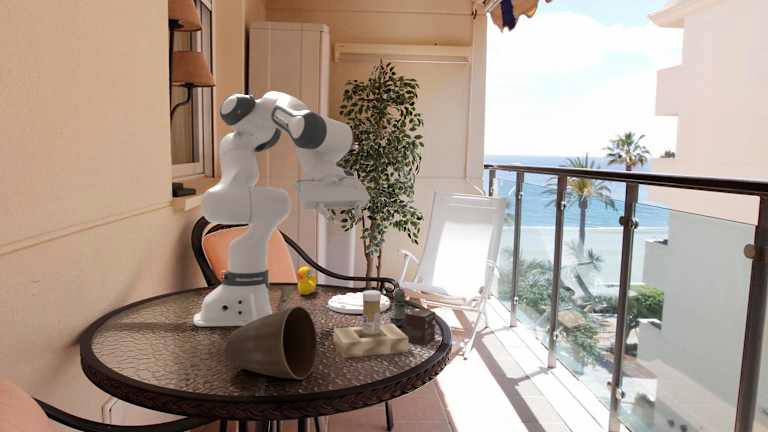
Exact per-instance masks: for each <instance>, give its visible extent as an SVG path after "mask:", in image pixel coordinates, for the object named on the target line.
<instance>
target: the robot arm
mask: <svg viewBox="0 0 768 432" xmlns="http://www.w3.org/2000/svg"><path fill="white" fill-rule="evenodd" d="M219 116H220V118H221V120H222V121H223V122H224V123H225V124H226V125H227V126H229V127H230V128H231V129H232V130H233V132H231V133H228V134H227V135H225V136H223V138H222V139H221V140H220V144H219V155H218V157H219V165H220V170H221V171H220V172H221V178H220V180H219V182H218V183H217V184H216V185H214V186H212V187H211V188H209V189H206V191H205V192H204V194H203V196H202V197H201V200H200V210H201V213H202V215H203V217H204V218H205V220H206V221H208V222H209V223H214V224H221V225H246V224H247V225H249V226H248V229H247V231H245V232H244V233H243V234H242V235H239V236H238V237H236V238H234V239H233V240H232V241H231V242H230V244H229V245H228V249H227V250H228V253H227V254H228V270H224V269H223V270H221V271H220V273H219V277H220V279H221V284H220V285H219V286H217V287H216V288H215V289H214V290H212V291H211V292H210V293H208V294H207V295H206V296H205V297H204V299H203V301H202V305H201V310H200V311H198V312H197V313H195V315H194V316H193V324H194V325H195V326H197V327H236V326H237V327H238V326H239V327H242V326H244V325H246V324H248V323H250V322H252V321H255V320H257V319H259V318H261V317H264V316H267V315H269V314H272V313H273V311H272V307H271V302H270V296H269V287H270V272H269V269H268V252H269V249H268V248H269V243H270V240H271V237H272V235H273V233H274V232H275V230H276V229H277V228H278V226H279V225H281V223H282V222H283V221H285V220H286V219H287V218H288V217H289V215H290V213H291V211H292V199H291V197H290V195H289V194H288V192H287V191H286V189H284V188H279V187H274V186H268V185H267V186H264V185H263V186H258V185H257V186H256V184H257V183H258V181H259V180H260V179H259V178H260V170H259V167H258V162H257V158H256V154H255V153H260V152H263V151H267V150H269V149H272V148H273V147H274V146H276V145H277V144H278V142H279V141H280V140H281V135H282V132H284V133H287V134H288V135H289V137H290V139H291V140H292V142H293V143H294V145H295V147H296V148H295V149H296V154H297V158H298V161H299V163H300V164H301V167H302V169H303V171H304V172H305V173H306V177H307V179H297V180H296V181H295V182H294V188H295V190H296V191H297V194H298V199H299V202H300V205H301V207H302V208H303V209H305V210H316V211H317V212H318V213H319V214H321V215H322V216H323V217H324V220H326V221H329V220H332V219H333V216H334V215H333V213H332V211H331V210H328V209H349V208H350V209H351V208H352V209H354V210H355V211H354V213H353V216H354V217H355V219H361V218H362V217H363V216H364V214H363V212H362V208H365V207H366V206H367V205H368V203H369V201H370V194H369V193H368V190H367V189H366V187H365V185H364V184H363V183H362V182H361V181H360V180H359V179H358V174H357V173H356V172H355V171H353V170H349V169H345V168H343V167H340V166H338V165H337V163H338V162H340V161H341V160H342V159H344V157H345V156H346V155H347V154H348V153H349V152H350V150H351V149H352V148H353V145H354V141H355V140H354V133H353V129H352V128H351V126H350V125H349V124H347V123H344V122H341V121H338V120H335V119H333V118H330V117H326V116H324V115H321V114H319V113H316V112H314V111H312V110H309V109H308V107H307V106H306V104H305V103H304V102H302V101H301V100H300V99H299V98H297V97H295V96H293V95H291V94H287V93H286V92H285V93H284V92H279V91H269V92H267V93H265V94H264V95H262V97H261V98H260V99H258V100H257V99H255V97H254V95H253V94H248V95H245V94H239V93H238V94H237V93H236V94H231V95H230V96H228V97H226V99H224V101H223V102H222V104H221V105H220V109H219Z"/></svg>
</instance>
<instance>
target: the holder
mask: <svg viewBox="0 0 768 432" xmlns="http://www.w3.org/2000/svg"><path fill="white" fill-rule="evenodd" d="M333 343H334V345H335V347H336V348H337V350H338V352H339V353H340V354H341V357H343V359H344V358H357V357H365V356H377V355H378V356H379V355H388V354H399V353H408V352H409V341H408V337H407V336H406V335H405V332H404V331H401V330H399V329H398V328H397V327H396V326H395V325H394V324H392V323H389V324H386V323H385V324H380V337H370V338H363V325H361V326H350V327H349V326H348V327H337V328H336V327H335V328H333Z"/></svg>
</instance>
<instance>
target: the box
mask: <svg viewBox="0 0 768 432" xmlns="http://www.w3.org/2000/svg"><path fill="white" fill-rule="evenodd" d="M404 334H405V335H406V336H407V337H408V343H409V342H410V343H416V344H421V345H427V344H428V343H430V342H432V341H433V340H435V338H436V335H435V334H436V311H432V310H426V309H421V308H414V309H413V310H412V309H411V310H409V311H407V312H405V331H404Z"/></svg>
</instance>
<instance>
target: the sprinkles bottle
mask: <svg viewBox="0 0 768 432" xmlns="http://www.w3.org/2000/svg"><path fill="white" fill-rule="evenodd" d="M381 295H382V293H381V291H379V290H373V289H372V290H370V289H368V290H364V291H363V313H362V326H363V338H370V337H380V325H381V312H380V300H381Z"/></svg>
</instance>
